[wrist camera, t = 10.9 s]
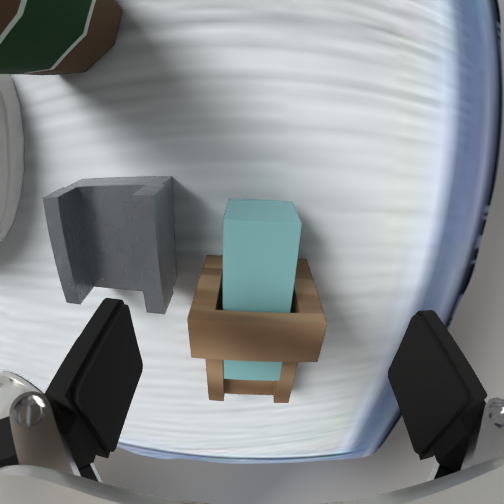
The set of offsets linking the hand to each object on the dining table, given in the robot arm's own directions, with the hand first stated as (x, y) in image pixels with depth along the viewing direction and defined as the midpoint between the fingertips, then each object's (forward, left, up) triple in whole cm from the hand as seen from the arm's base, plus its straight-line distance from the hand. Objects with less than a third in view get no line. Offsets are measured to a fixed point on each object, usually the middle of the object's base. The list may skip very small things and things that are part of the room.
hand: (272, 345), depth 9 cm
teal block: (-5, 0, -10) cm, 11 cm away
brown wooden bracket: (-11, 0, -14) cm, 17 cm away
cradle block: (-2, +10, -14) cm, 17 cm away
